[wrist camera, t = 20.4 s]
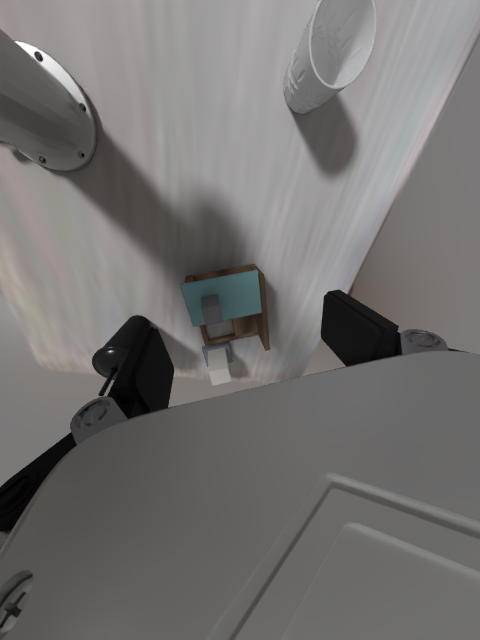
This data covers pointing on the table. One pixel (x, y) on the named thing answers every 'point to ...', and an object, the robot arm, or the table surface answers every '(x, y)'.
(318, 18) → the white cup
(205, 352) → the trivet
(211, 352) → the block
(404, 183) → the table surface
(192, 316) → the cover
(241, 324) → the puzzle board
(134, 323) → the drinking cup
